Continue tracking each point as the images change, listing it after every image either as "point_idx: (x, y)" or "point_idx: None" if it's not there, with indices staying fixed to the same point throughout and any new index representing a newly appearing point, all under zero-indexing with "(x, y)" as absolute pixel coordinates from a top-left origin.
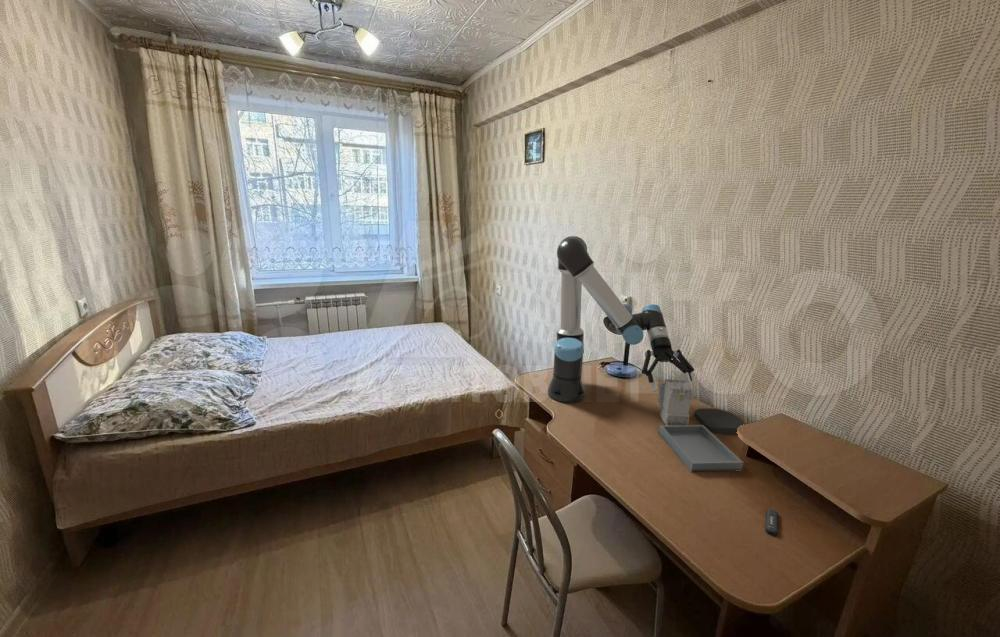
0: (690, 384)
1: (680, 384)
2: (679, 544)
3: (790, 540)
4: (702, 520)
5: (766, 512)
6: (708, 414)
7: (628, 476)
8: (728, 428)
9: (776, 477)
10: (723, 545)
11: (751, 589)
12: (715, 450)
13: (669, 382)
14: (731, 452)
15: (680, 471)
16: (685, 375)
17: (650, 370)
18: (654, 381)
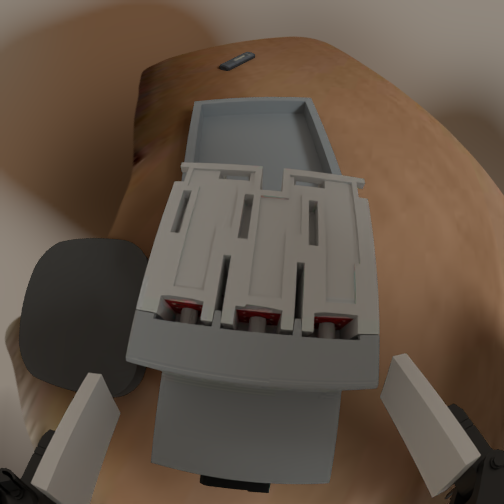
0: (84, 396)
1: (246, 249)
2: (355, 60)
3: (234, 54)
4: (324, 67)
5: (233, 67)
6: (94, 335)
7: (415, 122)
8: (95, 238)
9: (146, 114)
10: (312, 54)
11: (306, 40)
12: (211, 156)
13: (351, 305)
14: (194, 121)
15: (329, 117)
16: (69, 489)
17: (499, 472)
18: (438, 396)
